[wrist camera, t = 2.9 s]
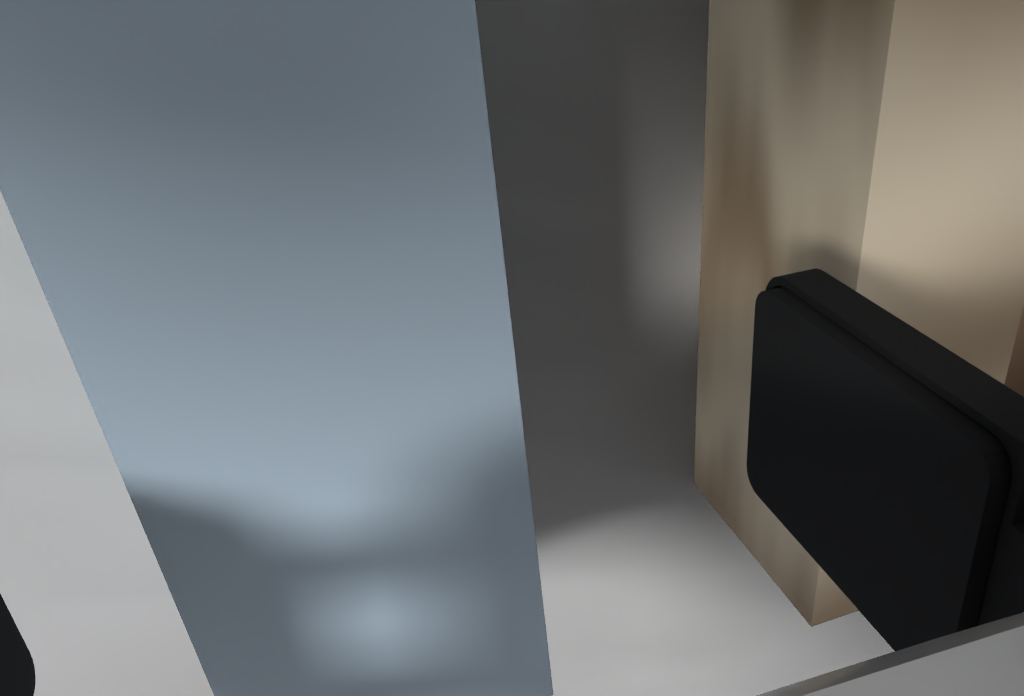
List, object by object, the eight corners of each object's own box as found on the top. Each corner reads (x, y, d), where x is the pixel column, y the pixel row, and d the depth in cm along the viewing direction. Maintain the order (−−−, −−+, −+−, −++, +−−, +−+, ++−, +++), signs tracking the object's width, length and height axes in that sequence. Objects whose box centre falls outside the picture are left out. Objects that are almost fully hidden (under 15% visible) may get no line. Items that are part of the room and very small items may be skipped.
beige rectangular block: (705, -51, 15) (897, -18, 11) (874, -74, 16) (1111, -52, 12) (690, 479, 22) (811, 626, 17) (813, 443, 22) (956, 576, 18)
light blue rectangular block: (2, -165, 12) (-158, -185, 6) (336, -200, 13) (446, -243, 7) (236, 513, 18) (257, 798, 12) (447, 455, 19) (552, 694, 13)
